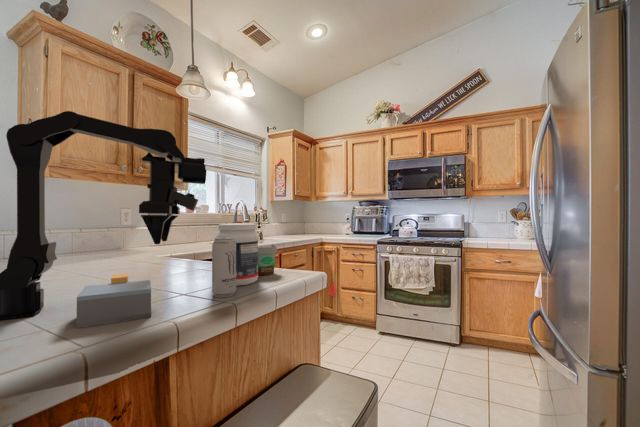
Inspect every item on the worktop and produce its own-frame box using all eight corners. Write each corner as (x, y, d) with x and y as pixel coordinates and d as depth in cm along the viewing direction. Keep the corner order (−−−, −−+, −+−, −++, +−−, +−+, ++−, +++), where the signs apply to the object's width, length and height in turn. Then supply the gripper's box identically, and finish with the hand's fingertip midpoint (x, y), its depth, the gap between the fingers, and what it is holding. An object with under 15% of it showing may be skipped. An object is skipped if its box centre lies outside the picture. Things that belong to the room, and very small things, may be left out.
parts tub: (76, 328, 55) (76, 301, 55) (85, 313, 64) (85, 289, 64) (151, 317, 61) (151, 292, 62) (150, 304, 70) (150, 283, 70)
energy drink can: (226, 298, 75) (226, 239, 75) (206, 296, 77) (207, 238, 77) (240, 293, 81) (240, 237, 81) (222, 291, 83) (222, 236, 83)
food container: (258, 278, 99) (258, 248, 99) (246, 276, 103) (246, 247, 103) (284, 273, 109) (284, 245, 109) (272, 271, 112) (272, 244, 112)
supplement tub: (206, 283, 92) (206, 223, 92) (239, 276, 102) (239, 223, 103) (234, 289, 85) (234, 224, 85) (266, 281, 95) (266, 223, 95)
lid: (76, 306, 55) (76, 290, 55) (88, 290, 67) (88, 277, 67) (151, 297, 62) (151, 282, 62) (149, 284, 74) (149, 271, 74)
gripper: (193, 178, 70) (191, 245, 70) (198, 186, 88) (197, 239, 88) (139, 176, 67) (137, 246, 66) (156, 184, 84) (155, 240, 84)
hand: (161, 242), depth 76 cm, fingers open, 9 cm apart
